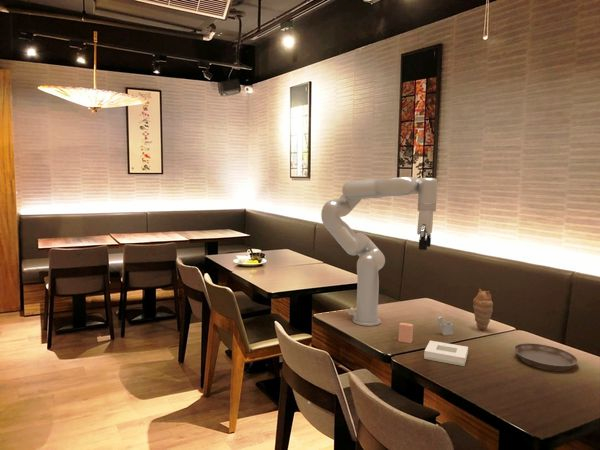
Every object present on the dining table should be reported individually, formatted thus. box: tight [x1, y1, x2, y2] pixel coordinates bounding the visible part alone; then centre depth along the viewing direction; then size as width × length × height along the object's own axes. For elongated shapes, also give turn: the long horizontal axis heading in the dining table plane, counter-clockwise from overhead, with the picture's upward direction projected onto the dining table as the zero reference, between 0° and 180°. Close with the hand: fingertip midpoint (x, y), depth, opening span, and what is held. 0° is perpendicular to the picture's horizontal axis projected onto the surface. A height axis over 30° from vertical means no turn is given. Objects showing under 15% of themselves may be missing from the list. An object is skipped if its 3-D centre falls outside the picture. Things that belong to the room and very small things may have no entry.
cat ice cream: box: [472, 288, 494, 331], centre depth 203 cm, size 9×8×18 cm
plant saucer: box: [513, 342, 579, 372], centre depth 171 cm, size 21×21×3 cm
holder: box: [423, 340, 469, 367], centre depth 173 cm, size 14×12×3 cm
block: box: [397, 322, 414, 344], centre depth 188 cm, size 5×3×7 cm, turn 65°
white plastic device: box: [436, 315, 454, 336], centre depth 197 cm, size 7×2×8 cm, turn 104°
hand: (424, 248), depth 197 cm, fingers open, 9 cm apart
